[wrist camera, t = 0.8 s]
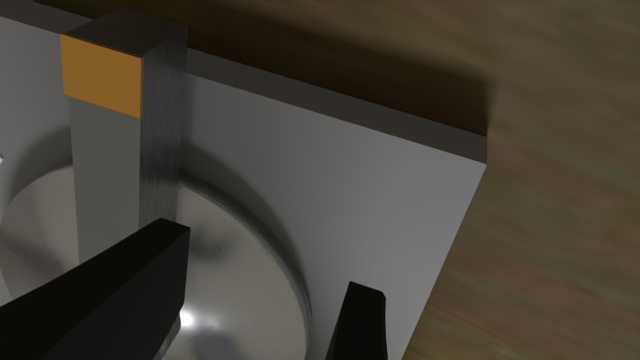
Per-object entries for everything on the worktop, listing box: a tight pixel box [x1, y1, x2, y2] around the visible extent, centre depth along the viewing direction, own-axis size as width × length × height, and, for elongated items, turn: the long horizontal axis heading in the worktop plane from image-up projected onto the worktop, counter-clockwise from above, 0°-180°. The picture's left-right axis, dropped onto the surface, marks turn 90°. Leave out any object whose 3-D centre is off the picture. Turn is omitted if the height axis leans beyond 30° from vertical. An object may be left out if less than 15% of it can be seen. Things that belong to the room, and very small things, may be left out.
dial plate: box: [0, 0, 487, 360], centre depth 24 cm, size 20×20×2 cm
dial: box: [0, 7, 312, 360], centre depth 20 cm, size 18×13×4 cm
